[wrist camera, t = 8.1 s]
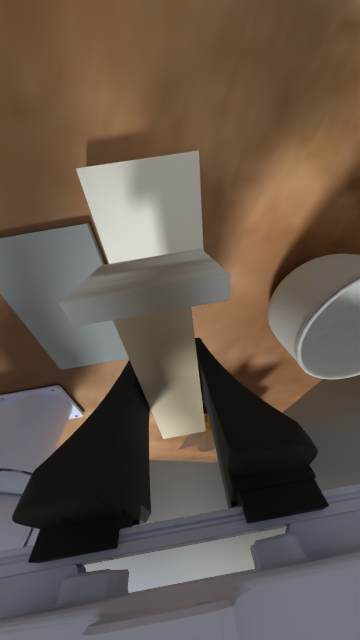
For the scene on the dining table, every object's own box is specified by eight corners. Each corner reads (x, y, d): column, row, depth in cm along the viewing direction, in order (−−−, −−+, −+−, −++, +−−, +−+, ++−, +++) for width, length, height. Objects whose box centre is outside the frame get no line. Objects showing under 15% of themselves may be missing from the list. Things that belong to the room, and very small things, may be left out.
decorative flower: (184, 444, 35) (194, 512, 25) (168, 403, 31) (172, 465, 21) (254, 422, 35) (289, 481, 25) (247, 379, 31) (284, 430, 22)
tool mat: (63, 366, 22) (60, 370, 22) (-33, 243, 14) (-40, 244, 13) (138, 353, 22) (138, 356, 22) (89, 223, 14) (86, 223, 13)
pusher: (146, 382, 16) (142, 442, 12) (101, 265, 10) (58, 303, 6) (209, 371, 16) (226, 427, 12) (201, 248, 10) (230, 274, 6)
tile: (113, 274, 15) (75, 168, 11) (118, 267, 16) (87, 174, 13) (204, 260, 15) (198, 150, 11) (199, 255, 17) (193, 158, 13)
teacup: (255, 339, 23) (294, 392, 16) (253, 261, 17) (313, 294, 10) (359, 311, 22) (445, 354, 16) (395, 218, 16) (559, 224, 10)
